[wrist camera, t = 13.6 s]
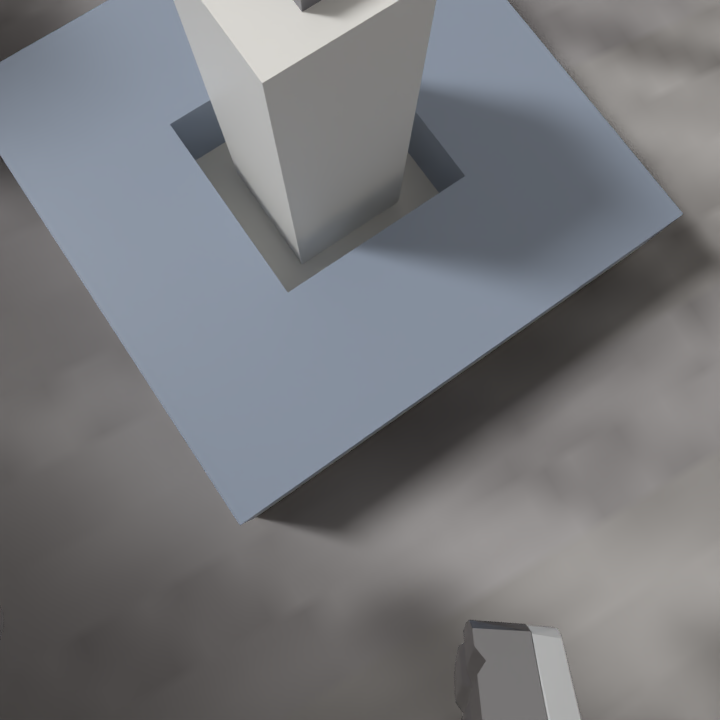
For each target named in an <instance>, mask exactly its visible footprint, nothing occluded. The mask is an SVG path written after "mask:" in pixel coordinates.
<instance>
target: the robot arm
mask: <svg viewBox="0 0 720 720" xmlns="http://www.w3.org/2000/svg"><path fill="white" fill-rule="evenodd" d="M3 628H4V614H3V611H2V609H1V606H0V638H1V635H2V631H3ZM463 633H464V643H463V644H461V645H460V646H459V647H458V651H457V655H456V662H455V673H454V678H455V700H456V704H457V705H458V707H459V708H460V710H461V711H462V712H463V716H462V719H461V720H582V718H581V714H580V710H579V706H578V701H577V697H576V693H575V689H574V685H573V680H572V676H571V672H570V668H569V664H568V660H567V655H566V651H565V647H564V643H563V639H562V635H561V633H560V632H559V630H558V629H557V628H555V627H549V626H536V625H526V624H519V623H505V622H491V621H476V620H468V621H467V622H466V624H465V628H464V631H463Z"/></svg>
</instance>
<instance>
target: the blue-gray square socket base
mask: <svg viewBox="0 0 720 720" xmlns="http://www.w3.org/2000/svg"><path fill="white" fill-rule="evenodd" d="M0 156H1V157H2V159H3V160H4V162H5V163H6V165H7V166H8V168H9V170H10V171H11V173H12V174H13V176H14V177H15V179H16V180H17V182H18V183H19V185H20V186H21V188H22V190H23V191H24V193H25V194H26V196H27V197H28V199H29V200H30V202H31V203H32V205H33V207H34V208H35V210H36V211H37V213H38V214H39V216H40V217H41V219H42V220H43V222H44V224H45V225H46V227H47V228H48V230H49V231H50V233H51V234H52V236H53V237H54V239H55V241H56V242H57V244H58V245H59V247H60V248H61V250H62V251H63V253H64V254H65V256H66V257H67V259H68V261H69V262H70V264H71V265H72V267H73V268H74V270H75V271H76V273H77V274H78V276H79V278H80V279H81V281H82V282H83V284H84V285H85V287H86V288H87V290H88V291H89V293H90V295H91V296H92V298H93V299H94V301H95V302H96V304H97V305H98V307H99V308H100V310H101V312H102V313H103V315H104V316H105V318H106V319H107V321H108V322H109V324H110V325H111V327H112V329H113V330H114V332H115V333H116V335H117V336H118V338H119V339H120V341H121V342H122V344H123V345H124V347H125V349H126V350H127V352H128V353H129V355H130V356H131V358H132V359H133V361H134V362H135V364H136V366H137V367H138V369H139V370H140V372H141V373H142V375H143V376H144V378H145V379H146V381H147V383H148V384H149V386H150V387H151V389H152V390H153V392H154V393H155V395H156V396H157V398H158V400H159V401H160V403H161V404H162V406H163V407H164V409H165V410H166V412H167V413H168V415H169V417H170V418H171V420H172V421H173V423H174V424H175V426H176V427H177V429H178V430H179V432H180V433H181V435H182V437H183V438H184V440H185V441H186V443H187V444H188V446H189V447H190V449H191V450H192V452H193V454H194V455H195V457H196V458H197V460H198V461H199V463H200V464H201V466H202V467H203V469H204V471H205V472H206V474H207V475H208V477H209V478H210V480H211V481H212V483H213V484H214V486H215V488H216V489H217V491H218V492H219V494H220V495H221V497H222V498H223V500H224V501H225V503H226V505H227V506H228V508H229V509H230V511H231V512H232V514H233V515H234V517H235V518H236V520H237V521H238V523H239V525H242V524H244V523H246V522H248V521H250V520H252V519H254V518H256V517H257V516H258V515H260V514H261V513H263V512H264V511H266V510H267V509H268V508H270V507H271V506H273V505H274V504H276V503H277V502H278V501H280V500H281V499H283V498H284V497H286V496H287V495H288V494H290V493H291V492H293V491H294V490H295V489H297V488H298V487H300V486H301V485H303V484H304V483H305V482H307V481H308V480H310V479H311V478H313V477H314V476H315V475H317V474H318V473H320V472H321V471H322V470H324V469H325V468H327V467H328V466H330V465H331V464H332V463H334V462H335V461H337V460H338V459H340V458H341V457H342V456H344V455H345V454H347V453H348V452H350V451H351V450H352V449H354V448H355V447H357V446H358V445H359V444H361V443H362V442H364V441H365V440H367V439H368V438H369V437H371V436H372V435H374V434H375V433H377V432H378V431H379V430H381V429H382V428H384V427H385V426H386V425H388V424H389V423H391V422H392V421H394V420H395V419H396V418H398V417H399V416H401V415H402V414H404V413H405V412H406V411H408V410H409V409H411V408H412V407H413V406H415V405H416V404H418V403H419V402H421V401H422V400H423V399H425V398H426V397H428V396H429V395H431V394H432V393H433V392H435V391H436V390H438V389H439V388H441V387H442V386H443V385H445V384H446V383H448V382H449V381H450V380H452V379H453V378H455V377H456V376H458V375H459V374H460V373H462V372H463V371H465V370H466V369H468V368H469V367H470V366H472V365H473V364H475V363H476V362H477V361H479V360H480V359H482V358H483V357H485V356H486V355H487V354H489V353H490V352H492V351H493V350H495V349H496V348H497V347H499V346H500V345H502V344H503V343H505V342H506V341H507V340H509V339H510V338H512V337H513V336H514V335H516V334H517V333H519V332H520V331H522V330H523V329H524V328H526V327H527V326H529V325H530V324H532V323H533V322H534V321H536V320H537V319H539V318H540V317H541V316H543V315H544V314H546V313H547V312H549V311H550V310H551V309H553V308H554V307H556V306H557V305H559V304H560V303H561V302H563V301H564V300H566V299H567V298H569V297H570V296H571V295H573V294H574V293H576V292H577V291H578V290H580V289H581V288H583V287H584V286H586V285H587V284H588V283H590V282H591V281H593V280H594V279H596V278H597V277H598V276H600V275H601V274H603V273H604V272H605V271H607V270H608V269H610V268H611V267H613V266H614V265H615V264H617V263H618V262H620V261H621V260H623V259H624V258H625V257H627V256H628V255H630V254H631V253H633V252H634V251H635V250H637V249H638V248H639V247H641V246H642V245H643V244H645V243H646V242H647V241H649V240H650V239H651V238H653V237H654V236H655V235H656V234H658V233H659V232H660V231H662V230H663V229H664V228H666V227H667V226H668V225H669V224H671V223H672V222H673V221H675V220H676V219H677V218H679V217H680V216H681V215H683V213H682V212H681V211H680V209H679V208H678V207H677V206H676V205H675V203H674V202H673V201H672V200H671V198H670V197H669V196H668V195H667V194H666V192H665V191H664V190H663V189H662V188H661V186H660V185H659V184H658V183H657V181H656V180H655V179H654V178H653V177H652V175H651V174H650V173H649V172H648V171H647V169H646V168H645V167H644V166H643V164H642V163H641V162H640V161H639V160H638V158H637V157H636V156H635V155H634V154H633V152H632V151H631V150H630V149H629V147H628V146H627V145H626V144H625V143H624V141H623V140H622V139H621V138H620V137H619V135H618V134H617V133H616V132H615V130H614V129H613V128H612V127H611V126H610V124H609V123H608V122H607V121H606V120H605V118H604V117H603V116H602V115H601V113H600V112H599V111H598V110H597V109H596V107H595V106H594V105H593V104H592V103H591V101H590V100H589V99H588V98H587V96H586V95H585V94H584V93H583V92H582V90H581V89H580V88H579V87H578V86H577V84H576V83H575V82H574V81H573V79H572V78H571V77H570V76H569V75H568V73H567V72H566V71H565V70H564V69H563V67H562V66H561V65H560V64H559V62H558V61H557V60H556V59H555V58H554V56H553V55H552V54H551V53H550V52H549V50H548V49H547V48H546V47H545V45H544V44H543V43H542V42H541V41H540V39H539V38H538V37H537V36H536V35H535V33H534V32H533V31H532V30H531V29H530V27H529V26H528V25H527V24H526V22H525V21H524V20H523V19H522V18H521V16H520V15H519V14H518V13H517V12H516V10H515V9H514V8H513V7H512V5H511V4H510V3H509V2H508V1H507V0H436V5H435V10H434V16H433V21H432V26H431V31H430V37H429V42H428V47H427V53H426V58H425V63H424V69H423V74H422V79H421V84H420V90H419V95H418V100H417V106H416V111H415V116H414V121H413V127H412V132H411V137H410V143H409V148H408V153H407V159H406V164H405V169H404V174H403V180H402V185H401V190H400V196H399V201H398V202H397V203H395V204H394V205H392V206H391V207H389V208H388V209H386V210H385V211H383V212H382V213H380V214H379V215H377V216H375V217H374V218H372V219H371V220H369V221H368V222H366V223H365V224H363V225H362V226H360V227H359V228H357V229H356V230H354V231H352V232H351V233H349V234H348V235H346V236H345V237H343V238H342V239H340V240H339V241H337V242H336V243H334V244H333V245H331V246H329V247H328V248H326V249H325V250H323V251H322V252H320V253H319V254H317V255H316V256H314V257H313V258H311V259H310V260H308V261H307V262H305V263H303V264H301V262H300V261H299V260H298V258H297V257H296V255H295V254H294V252H293V251H292V250H291V248H290V247H289V245H288V244H287V243H286V241H285V240H284V238H283V237H282V236H281V234H280V233H279V231H278V230H277V228H276V227H275V226H274V224H273V223H272V221H271V220H270V219H269V217H268V216H267V214H266V213H265V212H264V210H263V209H262V207H261V206H260V205H259V203H258V202H257V200H256V199H255V197H254V196H253V195H252V193H251V192H250V190H249V189H248V188H247V186H246V185H245V183H244V182H243V181H242V179H241V178H240V176H239V175H238V173H237V171H236V168H235V166H234V163H233V160H232V158H231V155H230V152H229V149H228V147H227V144H226V141H225V139H224V136H223V133H222V130H221V128H220V125H219V122H218V120H217V117H216V114H215V112H214V109H213V106H212V103H211V101H210V98H209V95H208V93H207V90H206V87H205V84H204V82H203V79H202V76H201V74H200V71H199V68H198V65H197V63H196V60H195V57H194V55H193V52H192V49H191V47H190V44H189V41H188V38H187V36H186V33H185V30H184V28H183V25H182V22H181V19H180V17H179V14H178V11H177V9H176V6H175V3H174V1H173V0H108V1H106V2H104V3H102V4H101V5H99V6H97V7H95V8H94V9H92V10H90V11H88V12H87V13H85V14H83V15H81V16H80V17H78V18H76V19H74V20H73V21H71V22H69V23H67V24H66V25H64V26H62V27H60V28H59V29H57V30H55V31H53V32H52V33H50V34H48V35H46V36H45V37H43V38H41V39H39V40H38V41H36V42H34V43H32V44H31V45H29V46H27V47H25V48H23V49H22V50H20V51H18V52H16V53H15V54H13V55H11V56H9V57H8V58H6V59H4V60H2V61H1V62H0Z"/></svg>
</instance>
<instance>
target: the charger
mask: <svg viewBox="0 0 720 720" xmlns="http://www.w3.org/2000/svg"><path fill="white" fill-rule="evenodd" d="M173 1H174V3H175V6H176V9H177V11H178V14H179V17H180V19H181V22H182V25H183V28H184V30H185V33H186V36H187V38H188V41H189V44H190V47H191V49H192V52H193V55H194V57H195V60H196V63H197V65H198V68H199V71H200V74H201V76H202V79H203V82H204V84H205V87H206V90H207V93H208V95H209V98H210V101H211V103H212V106H213V109H214V112H215V114H216V117H217V120H218V122H219V125H220V128H221V130H222V133H223V136H224V139H225V141H226V144H227V147H228V149H229V152H230V155H231V158H232V160H233V163H234V166H235V168H236V171H237V173H238V175H239V176H240V178H241V179H242V181H243V182H244V183H245V185H246V186H247V188H248V189H249V190H250V192H251V193H252V195H253V196H254V197H255V199H256V200H257V202H258V203H259V205H260V206H261V207H262V209H263V210H264V212H265V213H266V214H267V216H268V217H269V219H270V220H271V221H272V223H273V224H274V226H275V227H276V228H277V230H278V231H279V233H280V234H281V236H282V237H283V238H284V240H285V241H286V243H287V244H288V245H289V247H290V248H291V250H292V251H293V252H294V254H295V255H296V257H297V258H298V260H299V261H300V262H301V264H303V263H305V262H307V261H308V260H310V259H311V258H313V257H314V256H316V255H317V254H319V253H320V252H322V251H323V250H325V249H326V248H328V247H329V246H331V245H333V244H334V243H336V242H337V241H339V240H340V239H342V238H343V237H345V236H346V235H348V234H349V233H351V232H352V231H354V230H356V229H357V228H359V227H360V226H362V225H363V224H365V223H366V222H368V221H369V220H371V219H372V218H374V217H375V216H377V215H379V214H380V213H382V212H383V211H385V210H386V209H388V208H389V207H391V206H392V205H394V204H395V203H397V202H398V201H399V196H400V190H401V185H402V180H403V174H404V169H405V164H406V159H407V153H408V148H409V143H410V137H411V132H412V127H413V121H414V116H415V111H416V106H417V100H418V95H419V90H420V84H421V79H422V74H423V69H424V63H425V58H426V53H427V47H428V42H429V37H430V31H431V26H432V21H433V16H434V10H435V5H436V0H173Z"/></svg>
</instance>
